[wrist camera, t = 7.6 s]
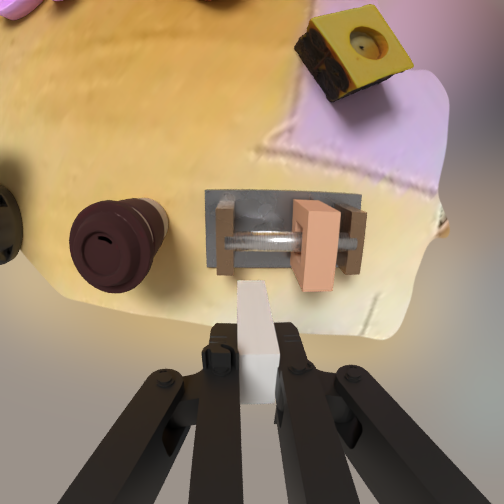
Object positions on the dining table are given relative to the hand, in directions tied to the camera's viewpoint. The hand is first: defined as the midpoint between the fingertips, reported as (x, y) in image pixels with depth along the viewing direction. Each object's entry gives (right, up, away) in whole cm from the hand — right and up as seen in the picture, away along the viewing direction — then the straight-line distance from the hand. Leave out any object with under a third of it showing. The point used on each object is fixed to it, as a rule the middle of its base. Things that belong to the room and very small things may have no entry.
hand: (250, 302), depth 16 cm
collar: (+7, +5, +23) cm, 24 cm away
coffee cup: (-15, +7, +23) cm, 29 cm away
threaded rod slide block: (+5, +6, +24) cm, 26 cm away
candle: (+13, +30, +17) cm, 37 cm away
